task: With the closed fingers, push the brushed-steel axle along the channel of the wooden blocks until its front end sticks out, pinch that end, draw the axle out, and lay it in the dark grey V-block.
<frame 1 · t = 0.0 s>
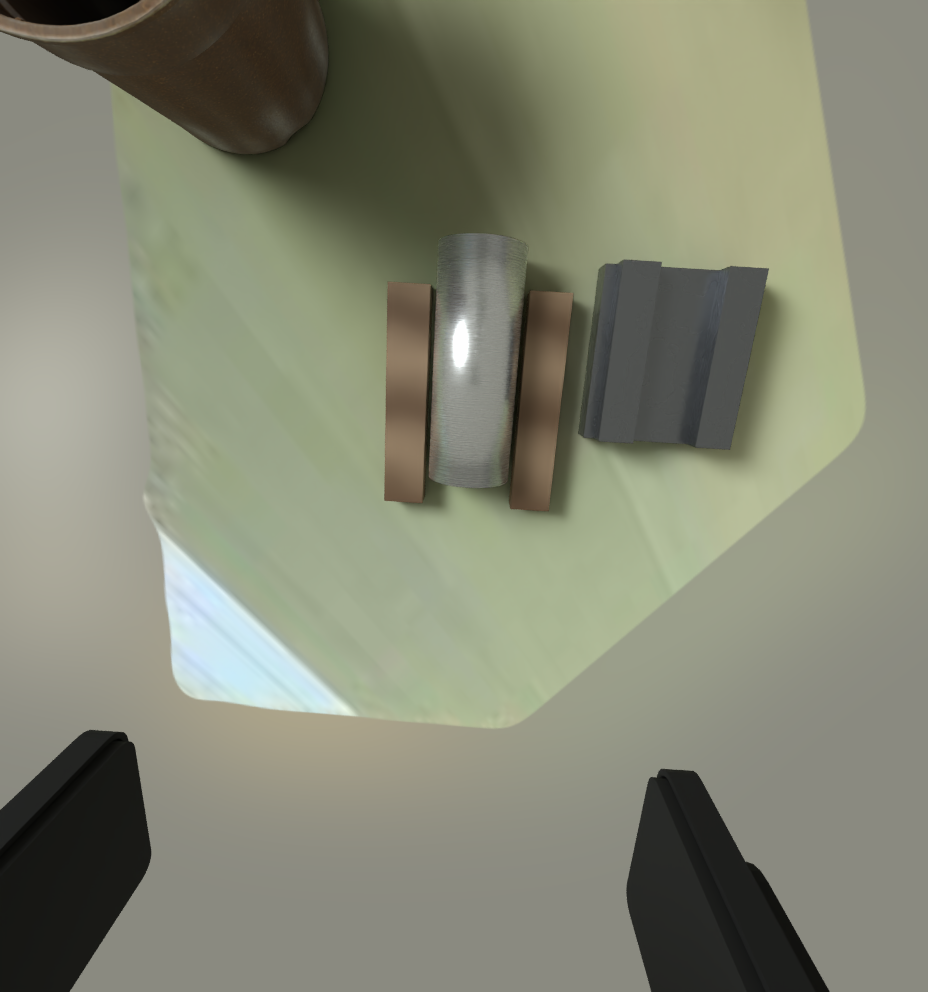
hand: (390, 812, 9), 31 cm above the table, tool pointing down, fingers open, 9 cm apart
v block: (660, 359, 36), on the table
axle: (475, 368, 37), on the table
wooden blocks: (473, 401, 37), on the table
plant pot: (240, 50, 32), on the table
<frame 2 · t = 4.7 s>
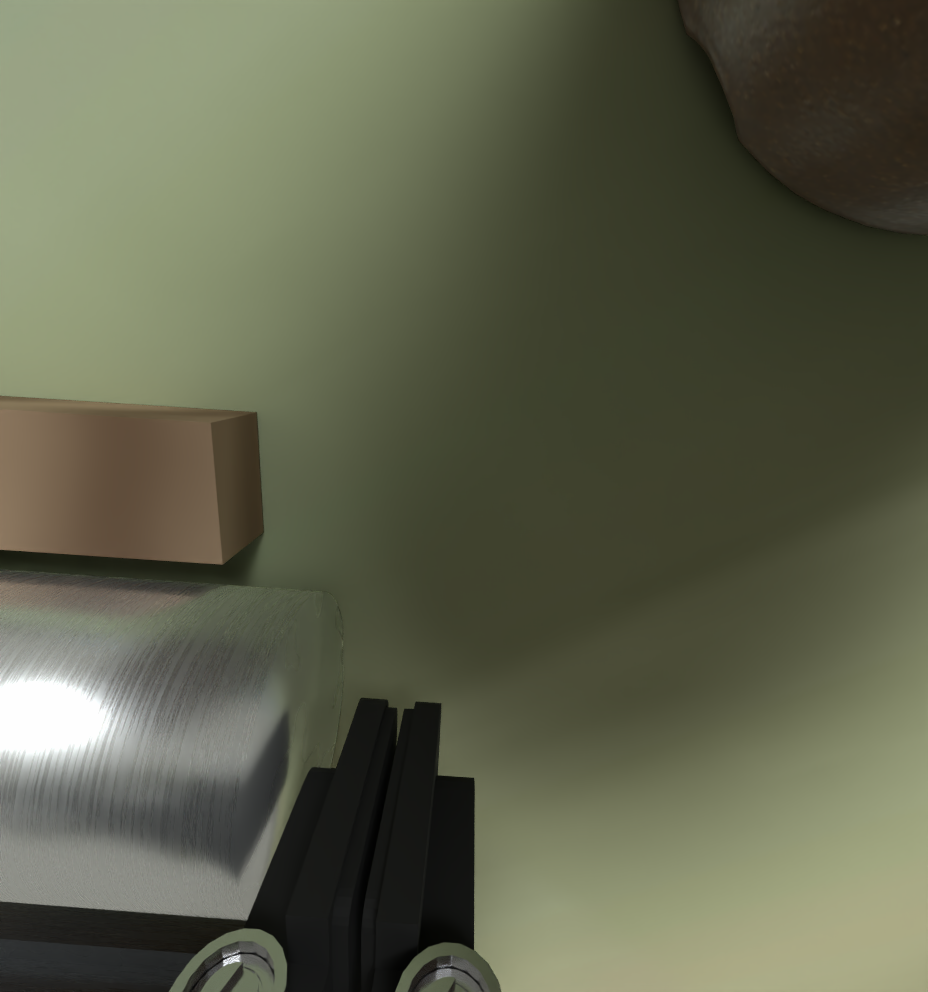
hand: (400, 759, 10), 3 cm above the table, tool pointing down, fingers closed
v block: (178, 989, 17), on the table
axle: (57, 634, 13), on the table, touching gripper
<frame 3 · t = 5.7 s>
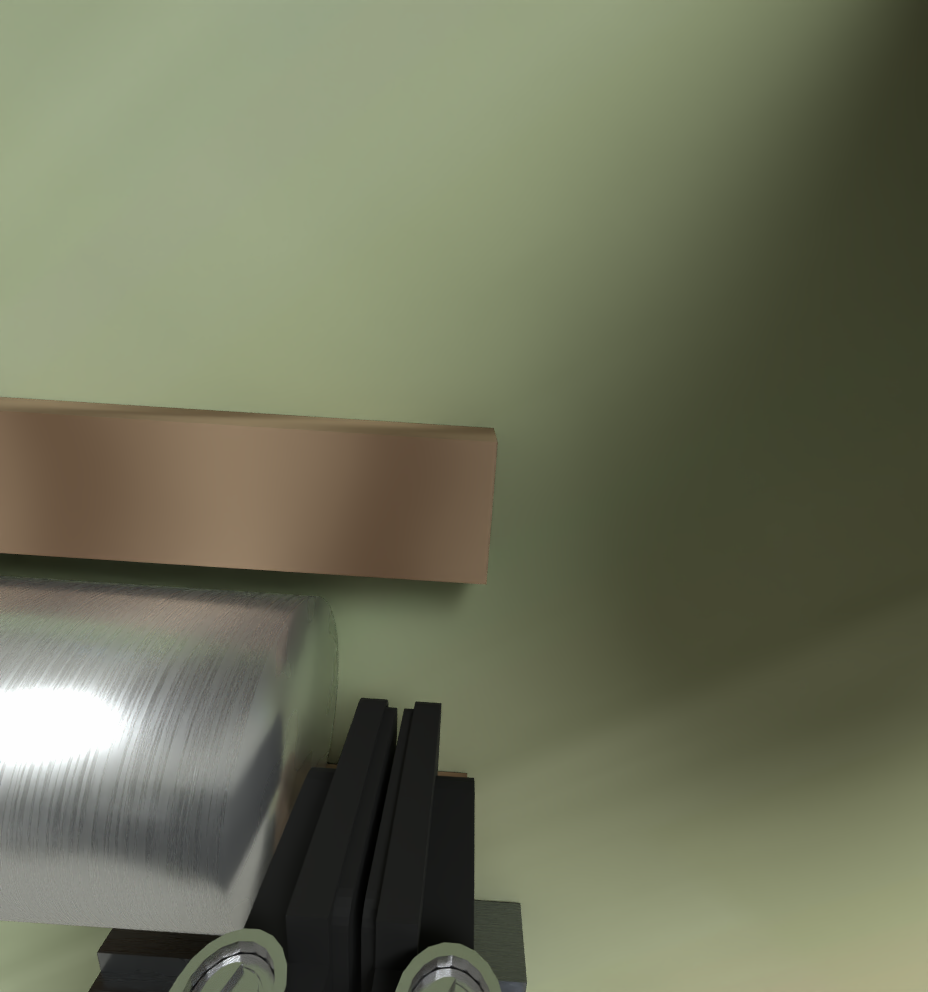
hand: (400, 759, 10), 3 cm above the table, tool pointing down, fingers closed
axle: (44, 640, 13), on the table, touching gripper
wooden blocks: (179, 649, 13), on the table
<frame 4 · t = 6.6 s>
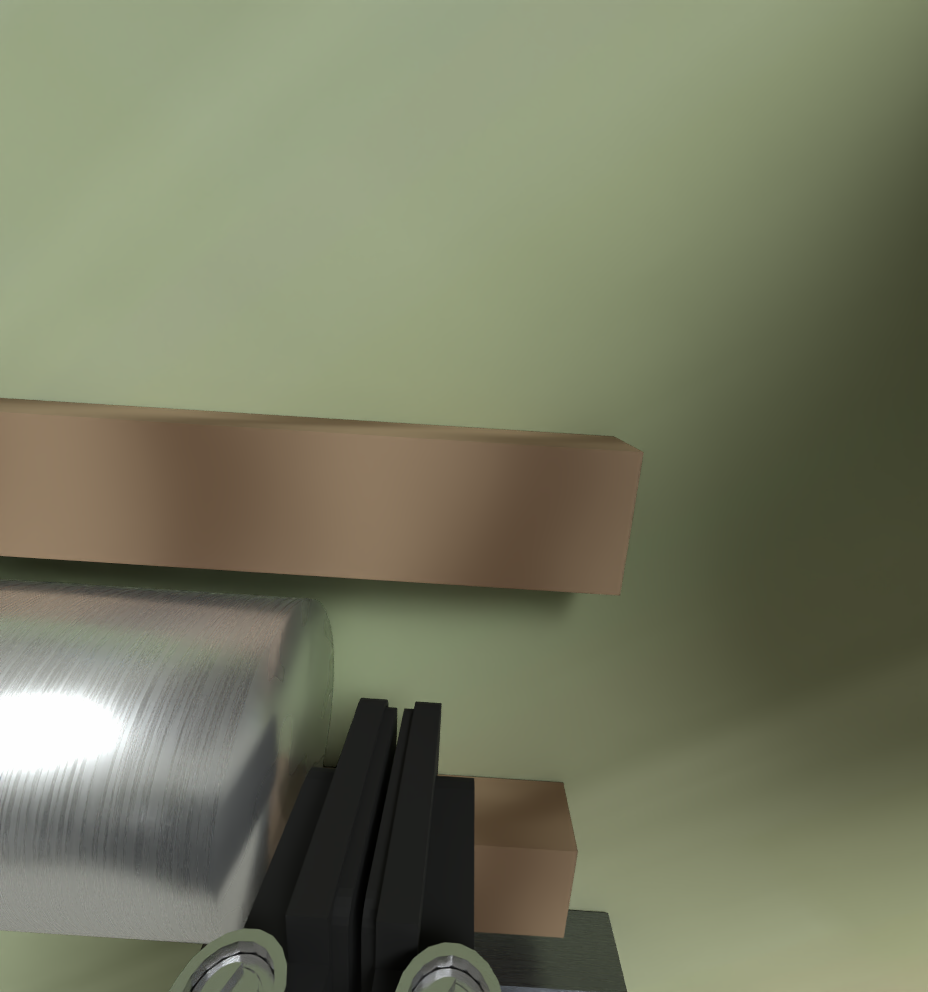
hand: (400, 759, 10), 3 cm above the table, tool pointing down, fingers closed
axle: (37, 642, 13), on the table, touching gripper
wooden blocks: (280, 659, 13), on the table
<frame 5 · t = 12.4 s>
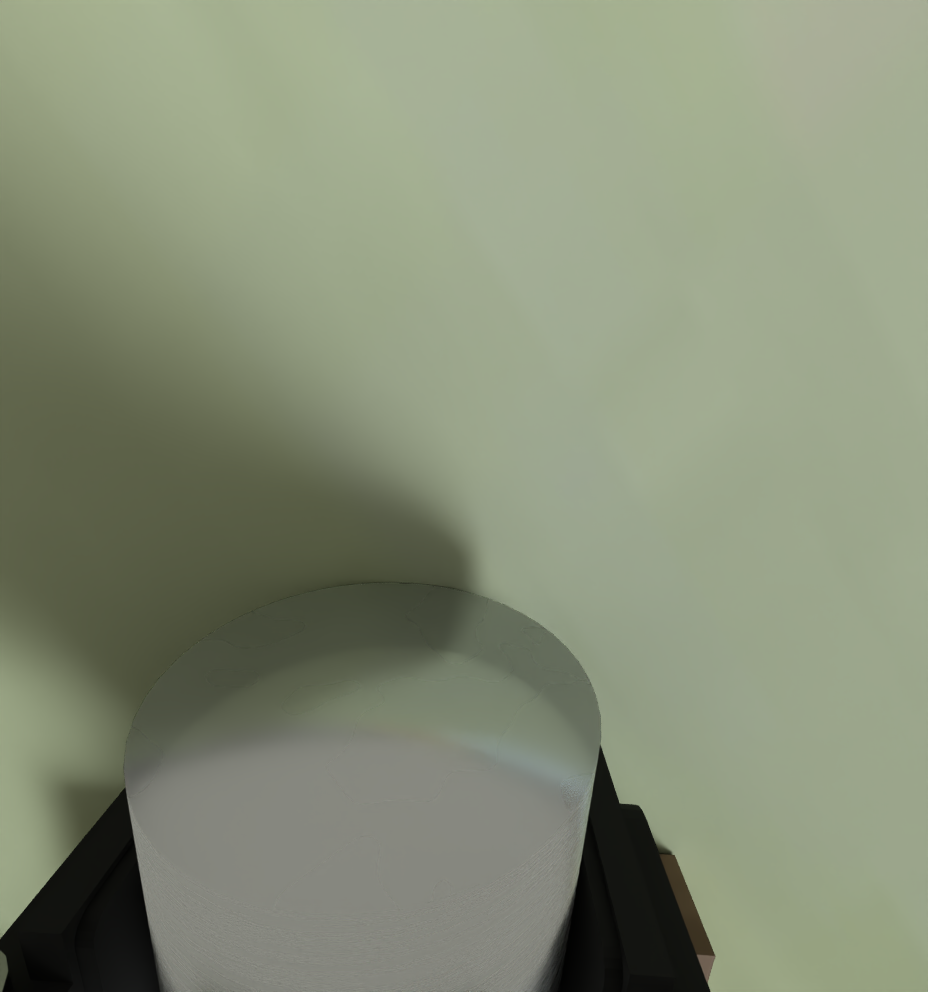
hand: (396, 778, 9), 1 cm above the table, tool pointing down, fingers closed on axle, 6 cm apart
axle: (405, 877, 12), on the table, touching gripper
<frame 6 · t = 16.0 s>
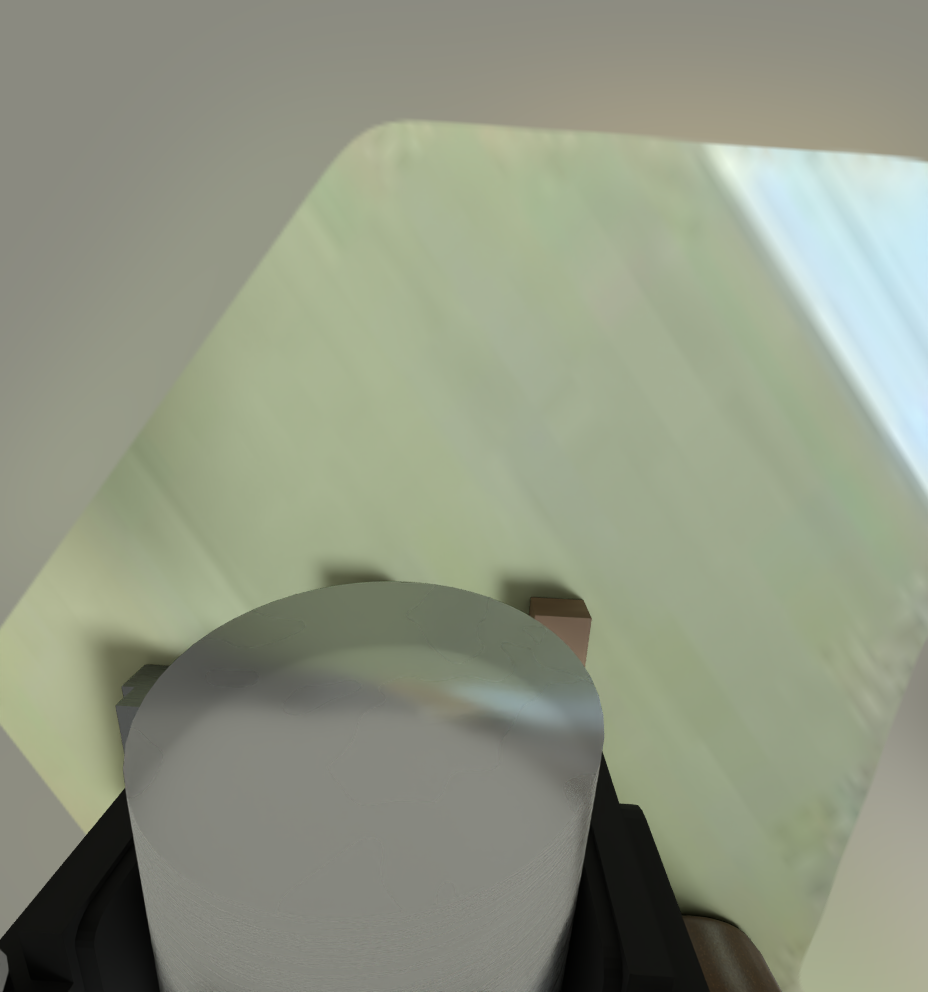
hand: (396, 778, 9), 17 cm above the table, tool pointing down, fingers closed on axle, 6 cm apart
v block: (242, 749, 31), on the table
axle: (405, 876, 12), point 16 cm above the table, touching gripper
wooden blocks: (462, 710, 29), on the table
plant pot: (675, 966, 36), on the table
when the fingers open (5 cm above the table, at t = 19.8 s): axle drops 1 cm, resting on v block.
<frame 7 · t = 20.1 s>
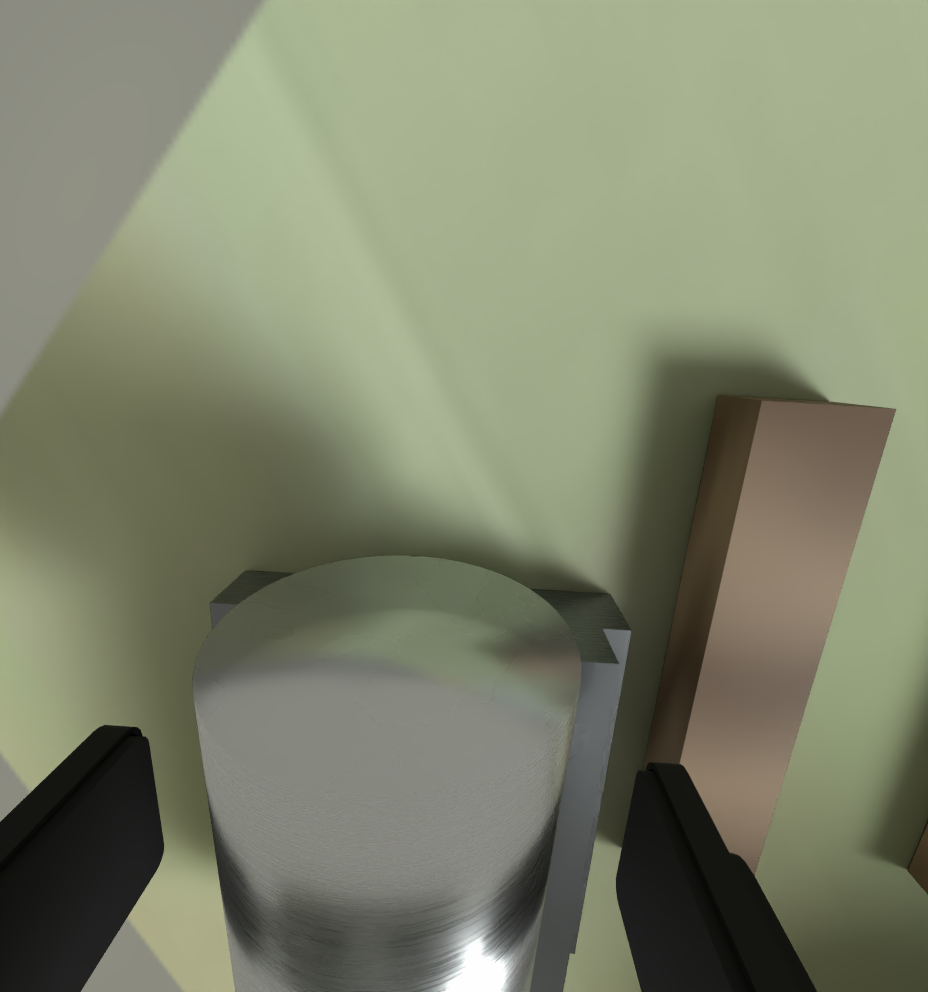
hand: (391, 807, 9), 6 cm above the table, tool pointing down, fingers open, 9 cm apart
v block: (420, 745, 16), on the table
axle: (414, 816, 13), point 3 cm above the table, touching v block
wooden blocks: (875, 670, 15), on the table
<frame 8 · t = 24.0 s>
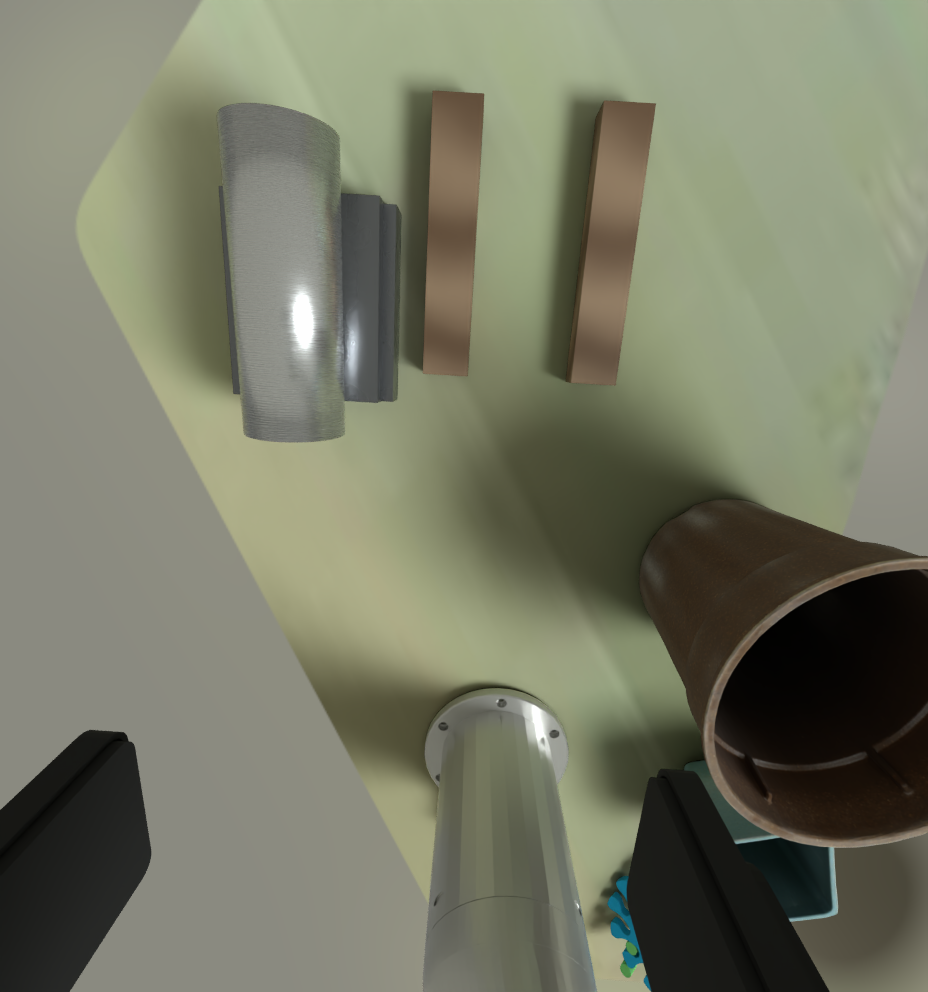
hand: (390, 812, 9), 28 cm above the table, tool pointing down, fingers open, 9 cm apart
v block: (320, 306, 33), on the table
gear: (643, 893, 47), on the table
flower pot: (713, 776, 43), on the table
axle: (308, 299, 30), point 3 cm above the table, touching v block
wooden blocks: (527, 255, 32), on the table
plant pot: (713, 572, 38), on the table
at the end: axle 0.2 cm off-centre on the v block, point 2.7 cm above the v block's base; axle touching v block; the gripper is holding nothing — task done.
